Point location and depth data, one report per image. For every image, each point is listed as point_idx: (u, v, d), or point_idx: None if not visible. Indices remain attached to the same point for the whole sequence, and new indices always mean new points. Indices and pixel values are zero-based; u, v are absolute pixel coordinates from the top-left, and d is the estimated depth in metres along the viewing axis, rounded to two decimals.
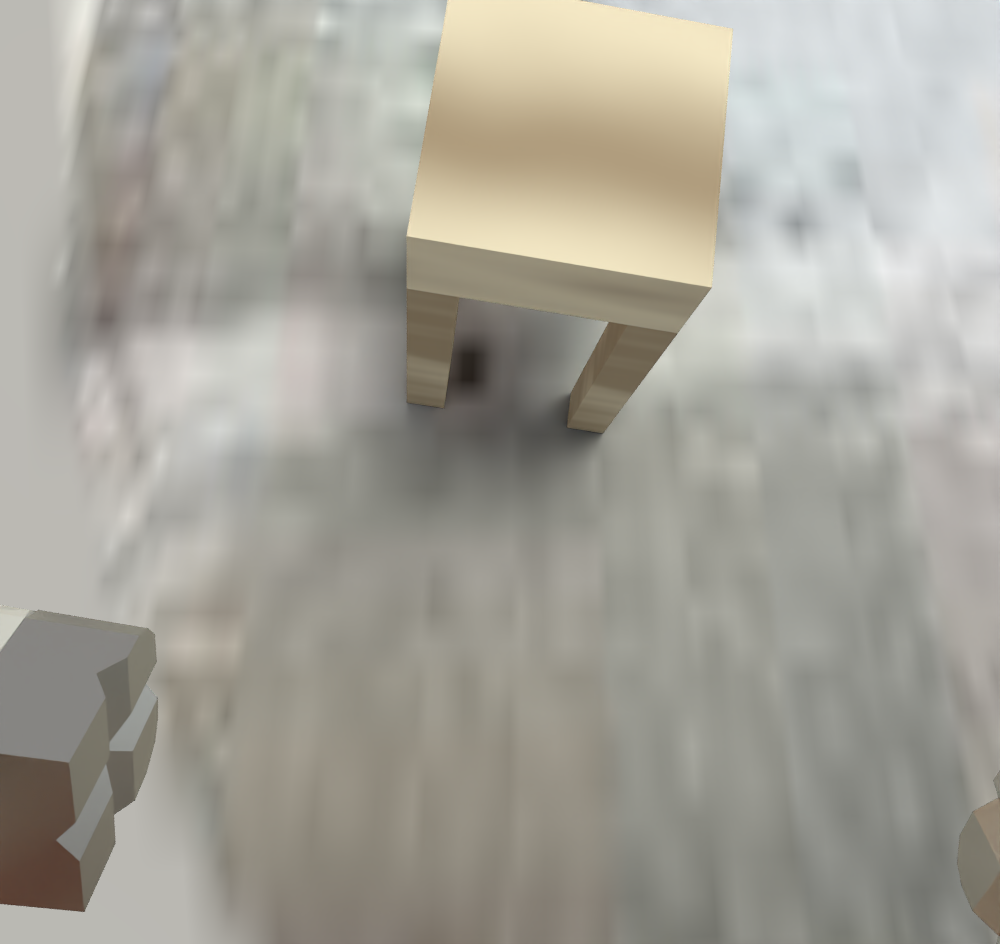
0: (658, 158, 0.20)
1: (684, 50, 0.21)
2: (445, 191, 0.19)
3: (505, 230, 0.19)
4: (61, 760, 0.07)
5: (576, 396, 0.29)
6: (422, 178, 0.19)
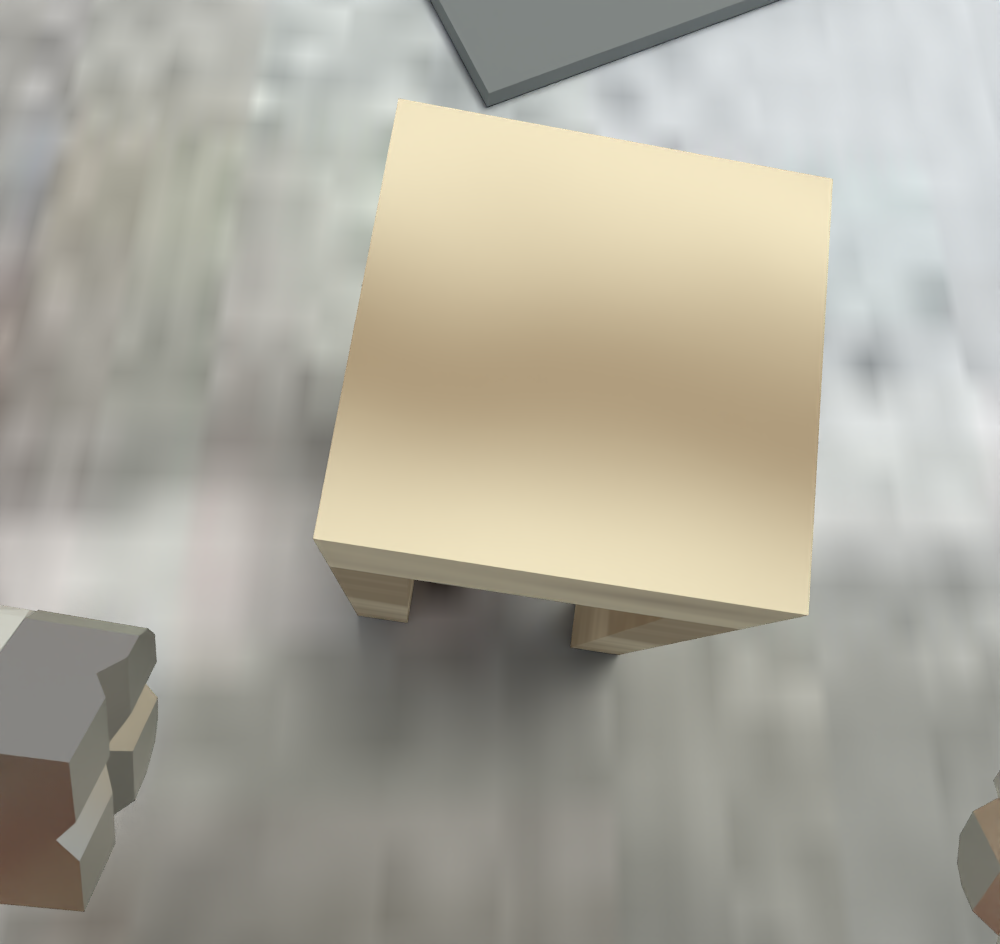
0: (720, 393, 0.12)
1: (759, 214, 0.13)
2: (379, 459, 0.12)
3: (474, 523, 0.12)
4: (61, 760, 0.07)
5: (583, 617, 0.21)
6: (342, 436, 0.12)
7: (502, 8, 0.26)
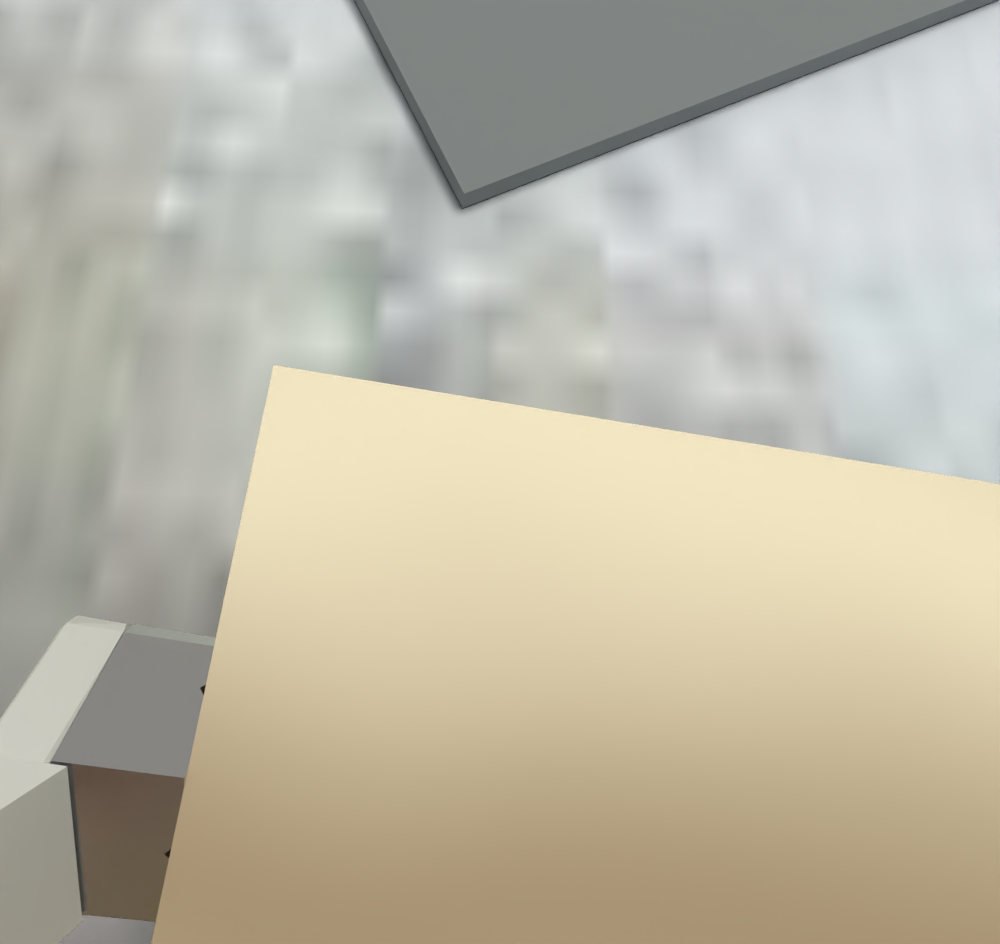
0: (850, 922, 0.07)
1: (904, 561, 0.08)
2: None
3: None
4: (176, 775, 0.07)
5: None
6: None
7: (481, 82, 0.20)
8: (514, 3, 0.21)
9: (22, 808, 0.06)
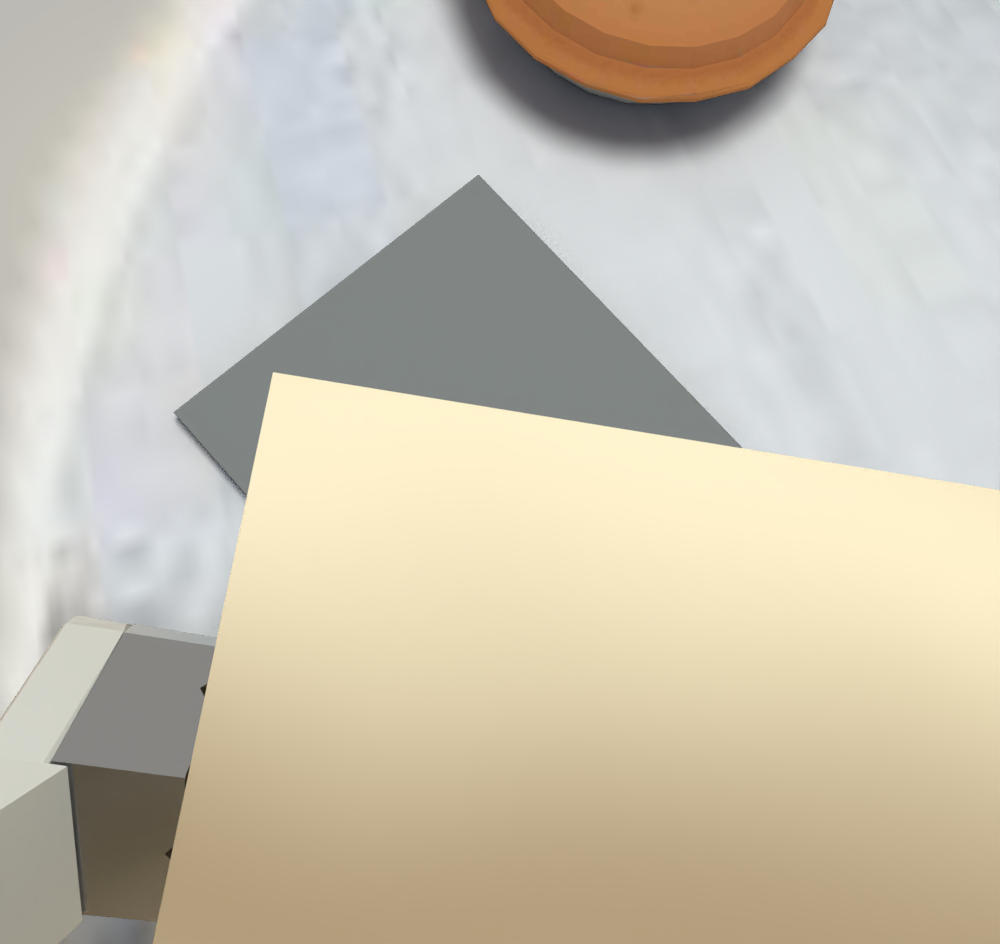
0: (851, 932, 0.07)
1: (904, 567, 0.08)
2: None
3: None
4: (176, 775, 0.07)
5: None
6: None
7: None
8: None
9: (22, 808, 0.06)
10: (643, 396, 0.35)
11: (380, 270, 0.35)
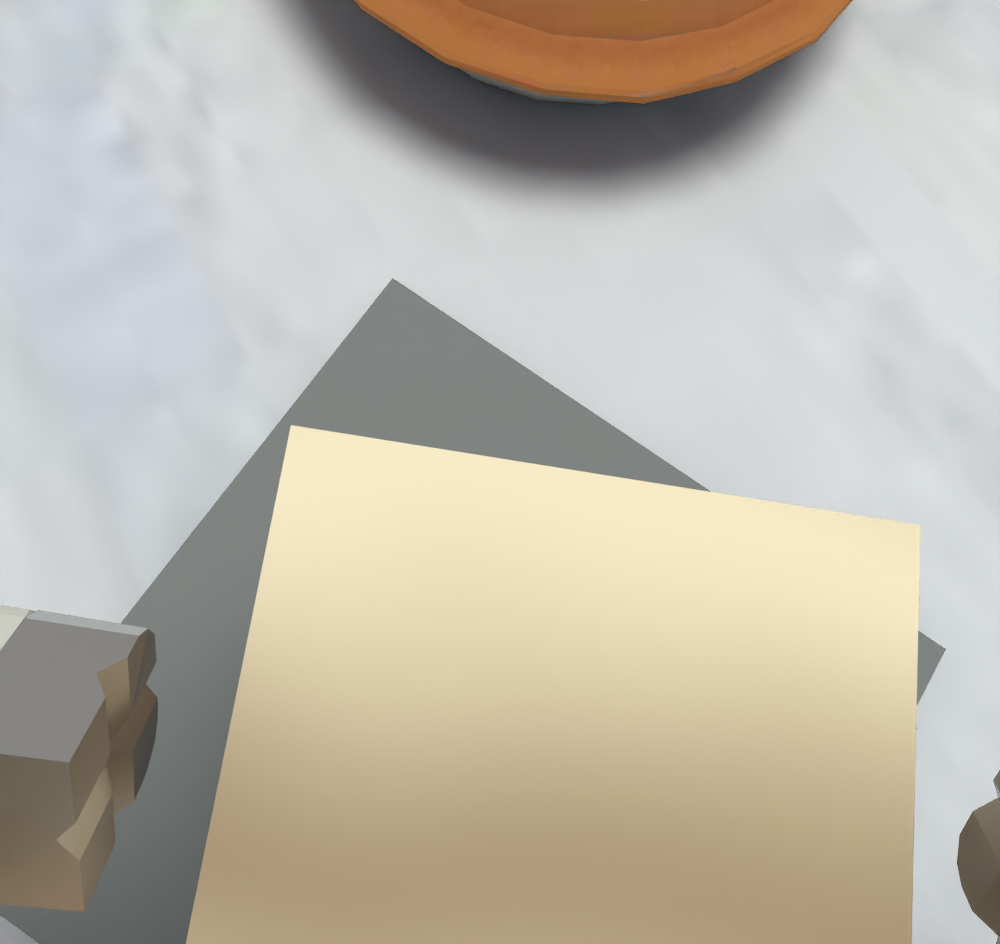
0: (766, 886, 0.08)
1: (817, 587, 0.09)
2: None
3: None
4: (61, 760, 0.07)
5: None
6: None
7: None
8: None
9: None
10: None
11: (262, 489, 0.20)
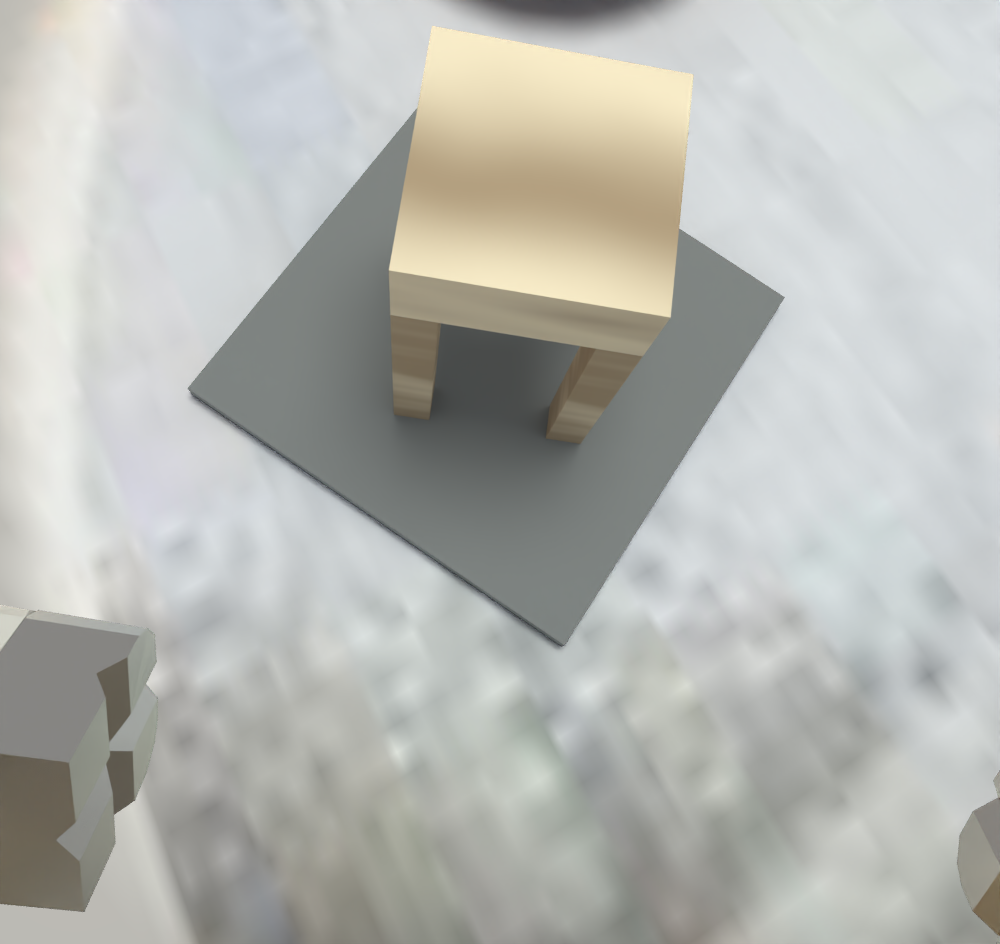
0: (622, 196, 0.21)
1: (648, 94, 0.22)
2: (425, 228, 0.21)
3: (479, 264, 0.21)
4: (61, 760, 0.07)
5: (554, 409, 0.30)
6: (403, 216, 0.21)
7: (530, 565, 0.30)
8: (517, 499, 0.31)
9: None
10: None
11: (368, 194, 0.33)
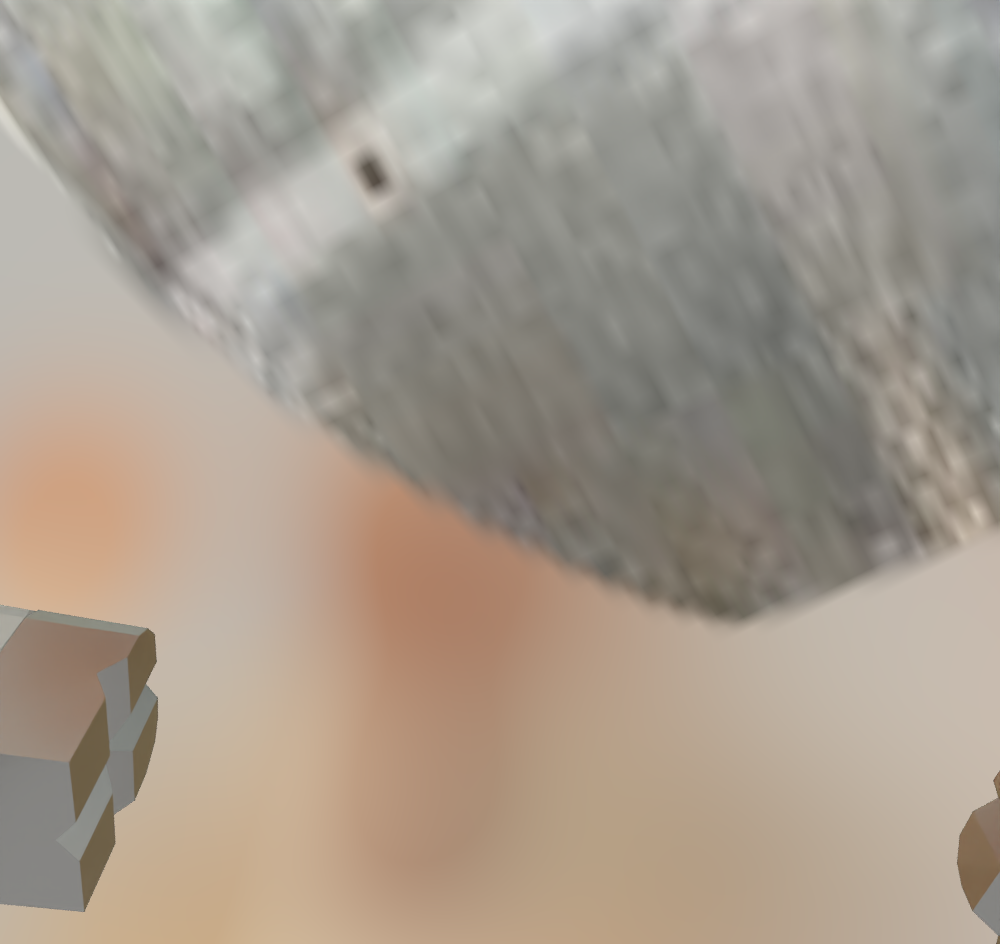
0: None
1: None
2: None
3: None
4: (61, 760, 0.07)
5: None
6: None
7: None
8: None
9: None
10: None
11: None
